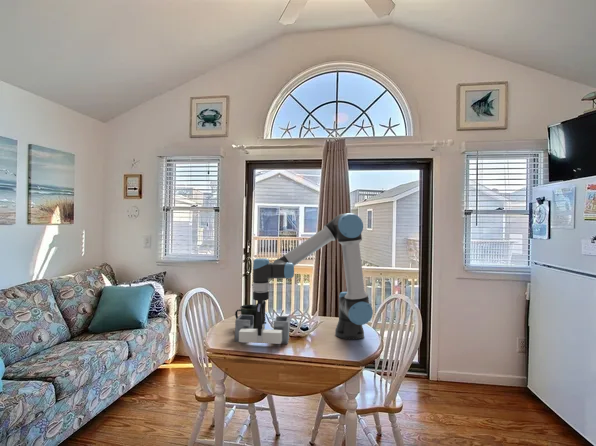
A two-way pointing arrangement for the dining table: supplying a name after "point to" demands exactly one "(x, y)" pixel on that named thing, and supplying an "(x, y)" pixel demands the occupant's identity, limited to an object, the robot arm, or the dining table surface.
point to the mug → (248, 312)
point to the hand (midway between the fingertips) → (260, 339)
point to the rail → (268, 336)
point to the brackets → (279, 324)
